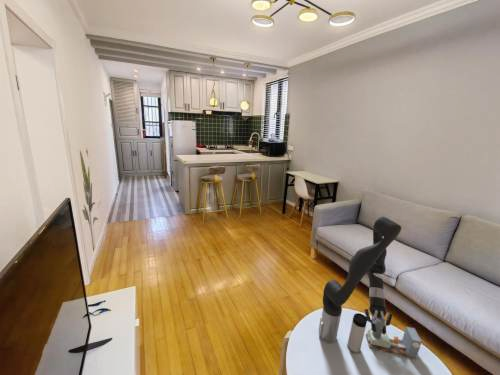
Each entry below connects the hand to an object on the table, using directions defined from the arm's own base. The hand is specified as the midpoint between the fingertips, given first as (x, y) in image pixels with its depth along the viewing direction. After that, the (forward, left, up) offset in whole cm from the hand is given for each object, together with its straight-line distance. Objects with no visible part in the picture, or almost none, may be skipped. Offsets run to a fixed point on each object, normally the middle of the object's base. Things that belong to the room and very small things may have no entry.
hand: (379, 332), depth 122 cm
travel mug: (-12, -4, -9) cm, 15 cm away
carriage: (+1, +2, -7) cm, 7 cm away
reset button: (+11, +2, -6) cm, 12 cm away
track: (+7, +2, -9) cm, 12 cm away
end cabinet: (+16, +2, -8) cm, 18 cm away
